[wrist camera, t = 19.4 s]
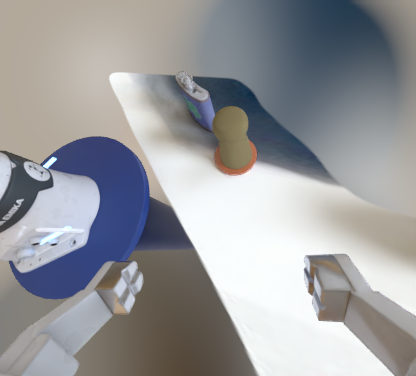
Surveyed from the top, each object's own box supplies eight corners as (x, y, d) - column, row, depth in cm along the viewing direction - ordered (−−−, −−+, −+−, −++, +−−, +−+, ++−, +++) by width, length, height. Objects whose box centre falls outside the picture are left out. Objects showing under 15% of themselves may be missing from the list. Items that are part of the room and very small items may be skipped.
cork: (214, 154, 36) (198, 118, 26) (238, 135, 36) (231, 91, 26) (233, 175, 34) (224, 144, 24) (259, 155, 34) (261, 115, 24)
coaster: (230, 183, 34) (230, 182, 34) (207, 154, 37) (207, 152, 37) (265, 158, 34) (265, 157, 34) (239, 131, 37) (239, 129, 37)
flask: (221, 126, 38) (209, 84, 29) (210, 135, 38) (194, 96, 29) (196, 103, 42) (177, 58, 32) (186, 111, 42) (164, 69, 32)
